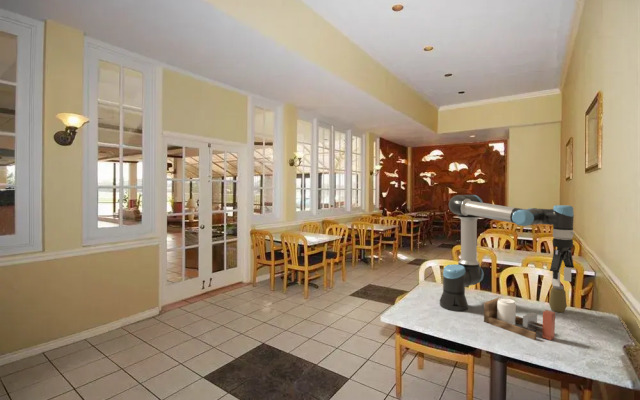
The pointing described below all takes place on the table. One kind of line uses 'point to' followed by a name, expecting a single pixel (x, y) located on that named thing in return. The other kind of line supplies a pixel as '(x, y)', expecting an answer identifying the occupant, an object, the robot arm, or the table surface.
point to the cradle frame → (491, 318)
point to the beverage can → (506, 310)
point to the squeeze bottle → (558, 299)
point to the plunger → (548, 323)
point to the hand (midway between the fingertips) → (561, 283)
